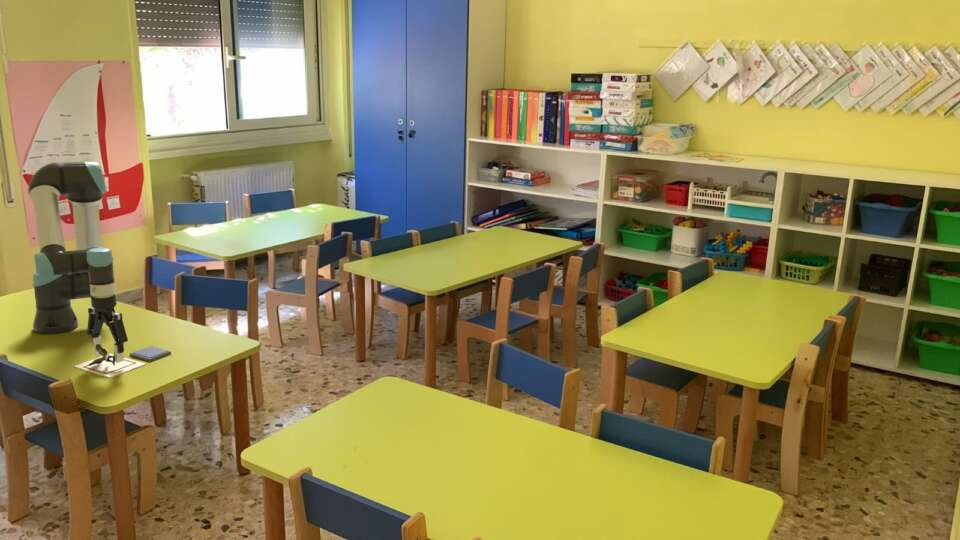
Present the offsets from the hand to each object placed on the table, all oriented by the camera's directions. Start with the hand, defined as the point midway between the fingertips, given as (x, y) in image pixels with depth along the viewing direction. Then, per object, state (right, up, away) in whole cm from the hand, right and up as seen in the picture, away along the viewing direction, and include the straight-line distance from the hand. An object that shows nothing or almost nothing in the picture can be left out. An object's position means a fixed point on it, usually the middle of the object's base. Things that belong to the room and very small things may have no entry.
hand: (109, 358), depth 265 cm
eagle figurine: (-1, -2, -2) cm, 3 cm away
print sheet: (0, -3, +1) cm, 3 cm away
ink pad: (+9, 0, +11) cm, 15 cm away
